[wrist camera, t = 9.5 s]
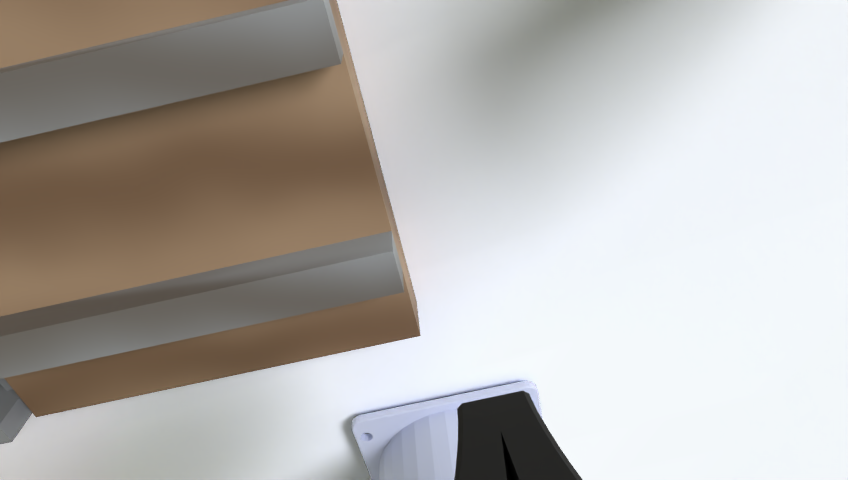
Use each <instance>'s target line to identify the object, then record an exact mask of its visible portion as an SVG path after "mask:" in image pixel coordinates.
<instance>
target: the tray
mask: <svg viewBox="0 0 848 480" xmlns="http://www.w3.org/2000/svg"><path fill="white" fill-rule="evenodd" d="M31 414H32V412H31V410H30V409H29V408H28V407H27V405H26V404H25V403H24V402H23V401H22V399H21V398H20V397H19V396H18V395H17V393H16V392H15V391H14V390H13V388H12V387H11V386H10V385H9V384H8V382H7V381H6V380H5V379H4V378H2V379H0V444H4V443H9V442H12V441H13V440H14V438H15V437H16V436H17V434H18V433H19V431H20V430H21V428H22V427H23V425H24V424H25V423H26V421H27V420H28V418H29V417H30V415H31Z"/></svg>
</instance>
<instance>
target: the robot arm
mask: <svg viewBox="0 0 848 480" xmlns="http://www.w3.org/2000/svg"><path fill="white" fill-rule="evenodd" d="M352 432H353V435H354V437H355V440H356V442H357V444H358V447H359V449H360V452H361V454H362V457H363V459H364V462H365V464H366V467H367V469H368V472H369V474H370V477H371V479H372V480H582V478H581V477H580V476H579V474H578V473H577V472H576V470H575V469H574V468H573V466H572V465H571V463H570V462H569V461H568V459H567V458H566V456H565V455H564V453H563V452H562V450H561V449H560V447H559V446H558V444H557V443H556V441H555V439H554V438H553V436H552V435H551V433H550V432H549V430H548V428H547V427H546V425H545V423H544V422H543V420H542V416H541V408H540V401H539V394H538V390H537V387H536V385H535V384H534V383H533V382H531V381H521V382H516V383H512V384H507V385H502V386H497V387H492V388H487V389H483V390H478V391H473V392H468V393H463V394H459V395H454V396H449V397H444V398H439V399H434V400H430V401H425V402H420V403H415V404H410V405H405V406H401V407H396V408H391V409H386V410H381V411H376V412H372V413H367V414H362V415H359V416H356V417H355V418H354V419H353V421H352ZM364 433H369V434H364Z"/></svg>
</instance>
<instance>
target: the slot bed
mask: <svg viewBox="0 0 848 480" xmlns="http://www.w3.org/2000/svg"><path fill="white" fill-rule="evenodd" d="M417 336H420V329H419V320H418V311H417V302H416V298H415V294H414V290H413V286H412V283H411V279H410V275H409V271H408V268H407V264H406V260H405V256H404V253H403V249H402V245H401V241H400V238H399V234H398V230H397V226H396V223H395V219H394V215H393V211H392V207H391V204H390V200H389V196H388V192H387V189H386V185H385V181H384V177H383V174H382V170H381V166H380V162H379V159H378V155H377V151H376V147H375V144H374V140H373V136H372V132H371V128H370V125H369V121H368V117H367V113H366V110H365V106H364V102H363V98H362V95H361V91H360V87H359V83H358V80H357V76H356V72H355V68H354V65H353V61H352V57H351V53H350V49H349V46H348V42H347V38H346V34H345V31H344V27H343V23H342V19H341V16H340V12H339V8H338V4H337V1H336V0H0V379H2V378H4V379H5V380H6V381H7V382H8V384H9V385H10V386H11V387H12V388H13V390H14V391H15V392H16V393H17V395H18V396H19V397H20V398H21V399H22V401H23V402H24V403H25V404H26V405H27V407H28V408H29V409H30V410H31V412H32V413H33V414H34V415H35V416H36V417H39V416H44V415H48V414H53V413H58V412H63V411H67V410H72V409H77V408H82V407H86V406H91V405H96V404H100V403H105V402H110V401H115V400H119V399H124V398H129V397H134V396H138V395H143V394H148V393H152V392H157V391H162V390H167V389H171V388H176V387H181V386H186V385H190V384H195V383H200V382H204V381H209V380H214V379H219V378H223V377H228V376H233V375H238V374H242V373H247V372H252V371H256V370H261V369H266V368H271V367H275V366H280V365H285V364H290V363H294V362H299V361H304V360H308V359H313V358H318V357H323V356H327V355H332V354H337V353H342V352H346V351H351V350H356V349H360V348H365V347H370V346H375V345H379V344H384V343H389V342H394V341H398V340H403V339H408V338H412V337H417Z"/></svg>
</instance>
